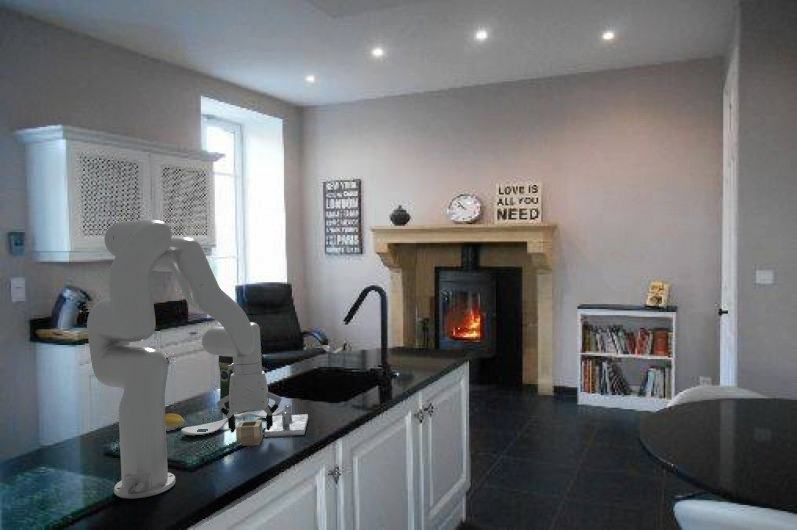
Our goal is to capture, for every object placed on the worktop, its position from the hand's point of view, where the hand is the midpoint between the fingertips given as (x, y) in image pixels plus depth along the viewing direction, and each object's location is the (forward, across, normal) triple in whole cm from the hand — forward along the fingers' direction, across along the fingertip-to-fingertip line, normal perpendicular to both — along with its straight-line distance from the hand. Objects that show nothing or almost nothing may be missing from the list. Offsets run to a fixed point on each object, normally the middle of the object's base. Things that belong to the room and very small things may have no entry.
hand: (251, 429), depth 161 cm
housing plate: (+4, +9, +10) cm, 14 cm away
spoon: (+4, -7, +15) cm, 17 cm away
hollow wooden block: (+3, 0, -1) cm, 3 cm away
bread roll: (+4, -27, +17) cm, 32 cm away
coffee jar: (+4, -12, +39) cm, 41 cm away
